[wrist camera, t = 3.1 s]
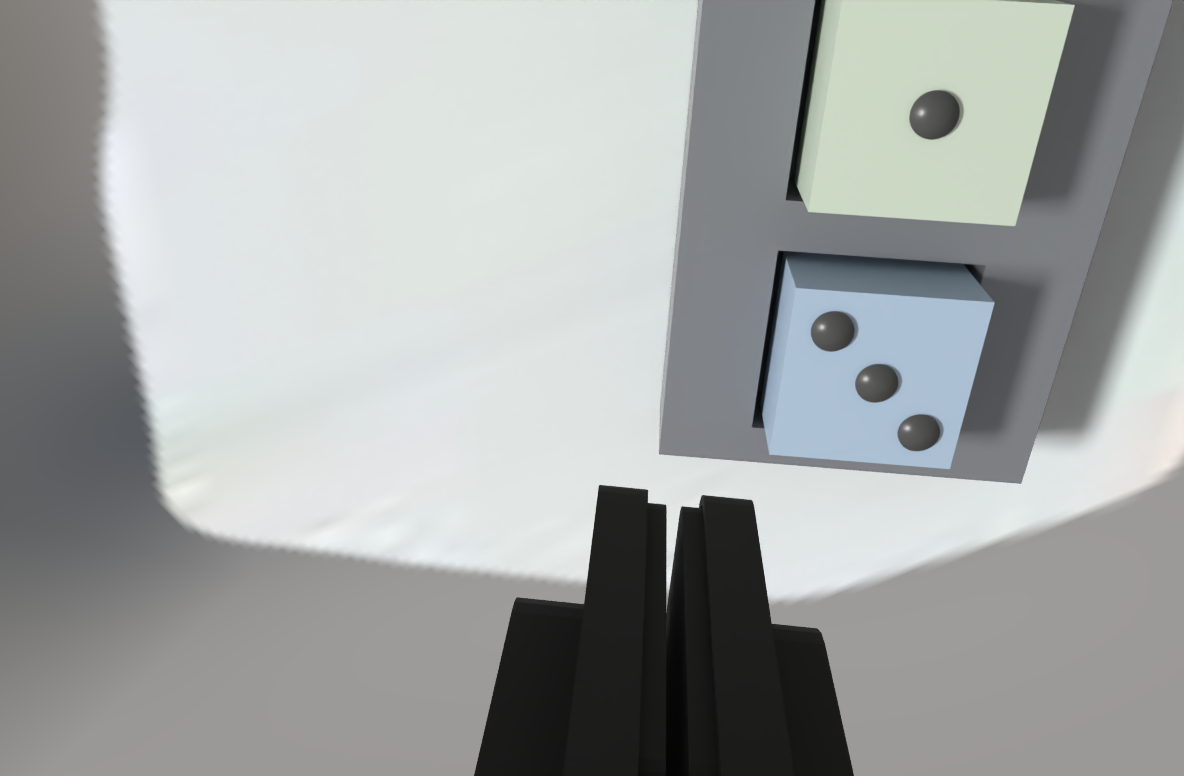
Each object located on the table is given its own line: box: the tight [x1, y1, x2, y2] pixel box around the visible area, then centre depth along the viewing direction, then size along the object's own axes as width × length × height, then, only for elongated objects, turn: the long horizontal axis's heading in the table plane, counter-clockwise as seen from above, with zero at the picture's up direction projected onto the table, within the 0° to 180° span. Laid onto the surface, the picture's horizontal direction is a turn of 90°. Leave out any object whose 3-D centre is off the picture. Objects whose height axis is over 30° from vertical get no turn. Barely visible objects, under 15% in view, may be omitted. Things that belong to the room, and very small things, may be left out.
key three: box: [760, 251, 995, 469], centre depth 26 cm, size 5×5×3 cm
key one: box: [794, 0, 1075, 226], centre depth 23 cm, size 5×5×3 cm
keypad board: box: [659, 0, 1173, 484], centre depth 25 cm, size 22×11×3 cm, turn 177°
